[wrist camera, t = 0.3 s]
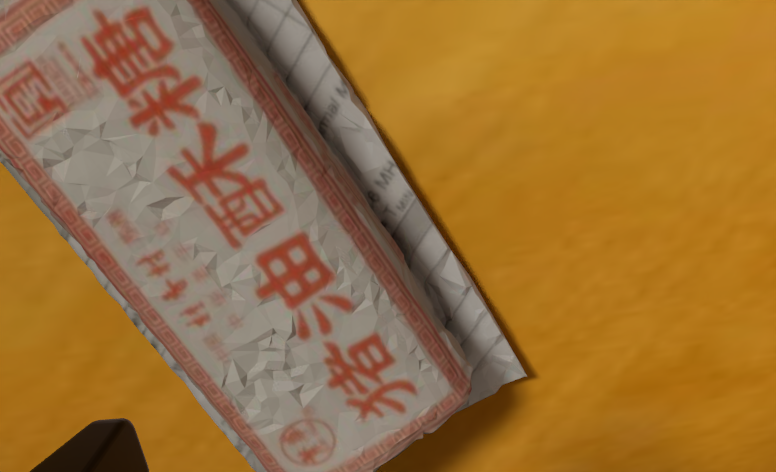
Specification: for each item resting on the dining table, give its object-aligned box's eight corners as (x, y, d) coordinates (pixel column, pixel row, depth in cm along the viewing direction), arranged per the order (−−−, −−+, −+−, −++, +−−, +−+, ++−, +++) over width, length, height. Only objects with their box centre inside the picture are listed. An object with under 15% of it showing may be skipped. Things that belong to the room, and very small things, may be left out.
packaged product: (-174, 87, 17) (159, -165, 15) (-53, 58, 21) (216, -139, 19) (266, 582, 22) (553, 448, 20) (288, 476, 27) (525, 358, 25)
